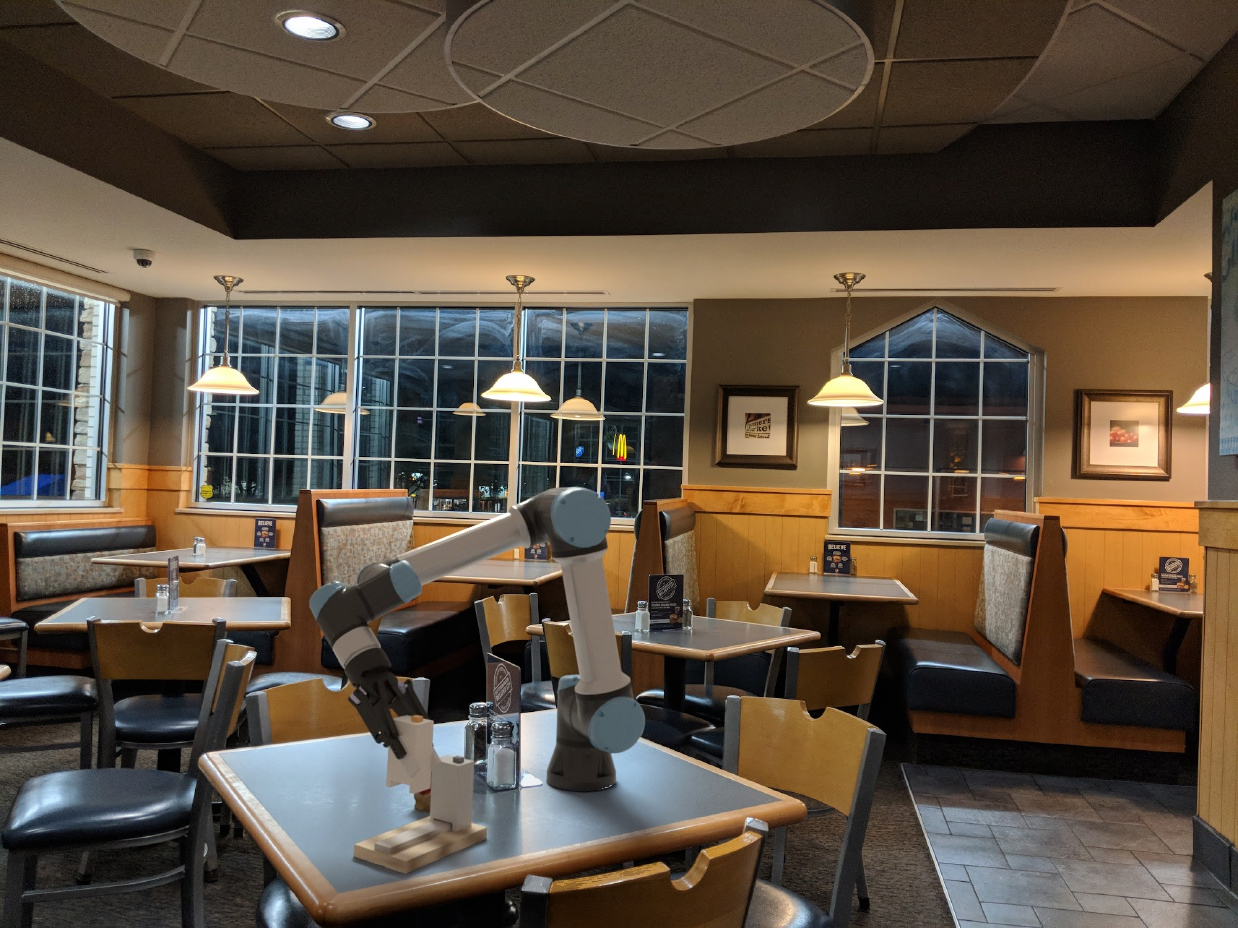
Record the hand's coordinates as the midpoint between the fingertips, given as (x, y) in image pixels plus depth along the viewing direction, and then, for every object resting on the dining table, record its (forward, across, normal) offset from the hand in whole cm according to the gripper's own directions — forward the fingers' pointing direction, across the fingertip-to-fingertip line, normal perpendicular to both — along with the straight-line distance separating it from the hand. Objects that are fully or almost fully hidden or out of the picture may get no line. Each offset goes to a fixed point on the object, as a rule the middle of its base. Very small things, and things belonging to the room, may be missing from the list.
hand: (425, 769), depth 157 cm
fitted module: (+7, -11, -11) cm, 17 cm away
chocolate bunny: (-1, -19, -22) cm, 29 cm away
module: (0, 0, -5) cm, 5 cm away
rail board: (+8, -4, -13) cm, 16 cm away
